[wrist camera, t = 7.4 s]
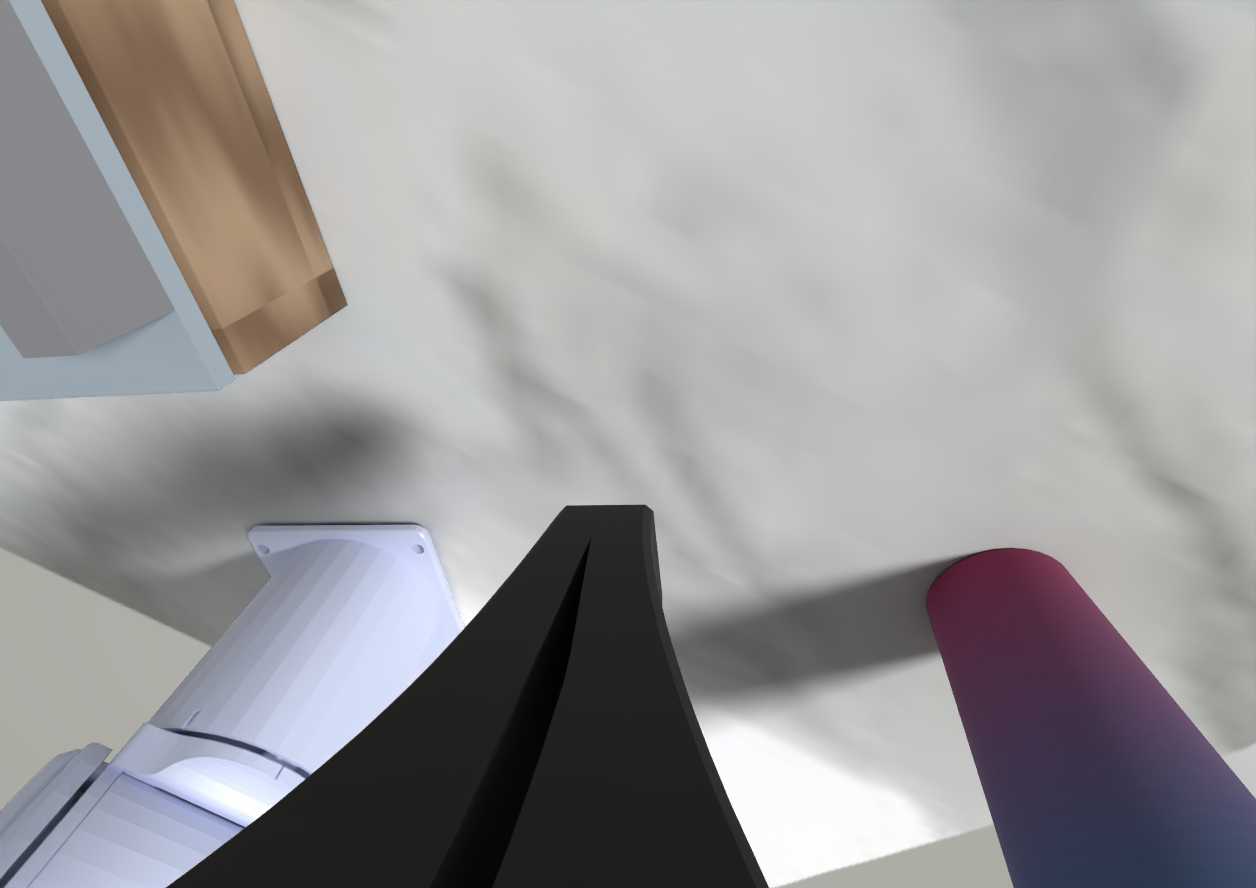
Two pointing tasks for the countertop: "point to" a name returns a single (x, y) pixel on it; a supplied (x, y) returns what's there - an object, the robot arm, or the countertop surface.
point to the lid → (81, 244)
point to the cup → (1082, 738)
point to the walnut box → (207, 163)
